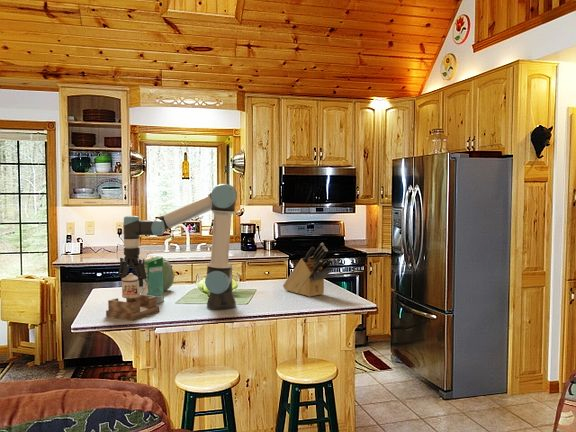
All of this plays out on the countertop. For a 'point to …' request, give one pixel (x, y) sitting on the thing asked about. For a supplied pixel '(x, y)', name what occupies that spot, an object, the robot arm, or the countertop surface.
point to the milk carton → (154, 278)
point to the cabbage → (167, 275)
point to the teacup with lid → (130, 286)
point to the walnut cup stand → (132, 307)
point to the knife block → (309, 273)
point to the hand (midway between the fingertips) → (132, 292)
